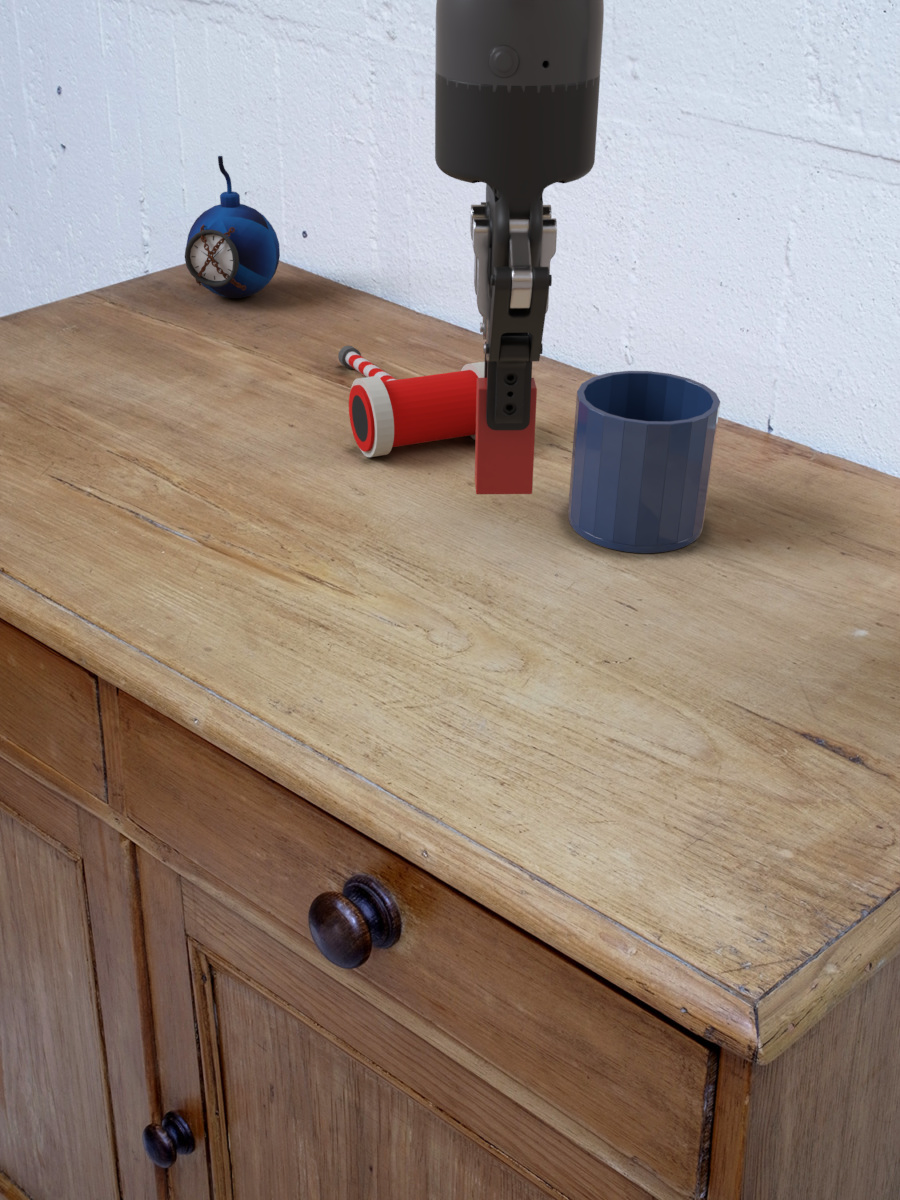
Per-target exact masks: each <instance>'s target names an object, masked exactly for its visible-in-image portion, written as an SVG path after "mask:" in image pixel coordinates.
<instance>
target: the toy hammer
mask: <svg viewBox="0 0 900 1200" xmlns="http://www.w3.org/2000/svg"><path fill="white" fill-rule="evenodd" d="M337 357H338V361H339V363H340V364H341V365H342V366H344V367H345V368H347V369H350V370H351V369H352V370H353V369H354V370H356V371H357V372H359V373H360V374H361V375H363V376H364V377H358V378H355V379H354V380H353V382H352V384H351V387H350V390H349V391H350V392H349V395H348V415H349V416H348V417H349V422H350V427H351V432H352V435H353V437H354V440H355V443H356V445H357V447H358V448H359V450H360V451H361V453H362V454H363V456H364V457H366V458H374V457H381V456H387V455H388V454H390V453H391V451H392V449H393V448H397V447H404V446H410V445H416V444H423V443H429V442H435V441H442V440H449V439H455V438H463V437H467V436H470V437H471V438H472V439H473V440H475V441H476V392H477V378H484V364H485V361H478V362H471V363H466V364H464V365H463V367H462V368H461V369H460V370H458V371H452V372H451V371H450V372H444V373H436V374H429V375H422V376H413V377H407V378H399V379H397V378H396V377H394V376H393V375H391V374H389V373H388V372H387V371H385V370H383V369H382V368H380V367H378V366H377V365H376V364H374V363H372V362H371V361H369V360H368V359H366V358H365V357H363V356H362V353H361V352H360V351H359V349H357V347H356V348H355V347H354V346H353V345H345V346H343V347H342V348H340V350H339V351H338V354H337Z"/></svg>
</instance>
